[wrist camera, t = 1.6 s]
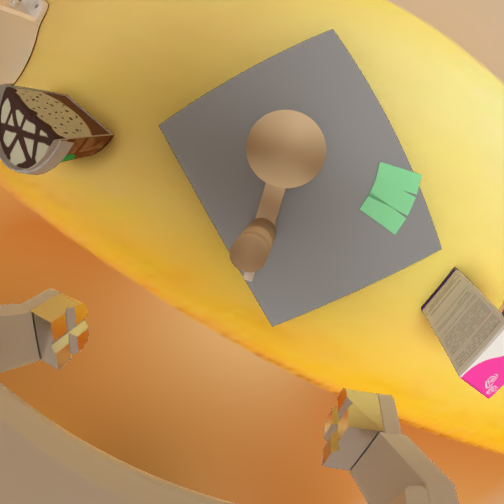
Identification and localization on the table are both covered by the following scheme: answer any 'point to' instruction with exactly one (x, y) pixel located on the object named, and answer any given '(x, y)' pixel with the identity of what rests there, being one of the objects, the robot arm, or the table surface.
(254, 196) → the flat gray board
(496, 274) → the table surface
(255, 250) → the tan wooden handled piece
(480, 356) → the supplement box
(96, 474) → the robot arm
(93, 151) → the brown cream half-round block
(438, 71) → the table surface
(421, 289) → the table surface
